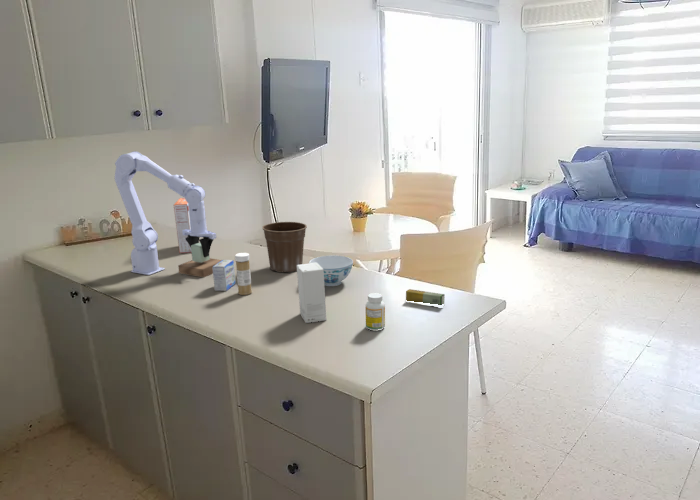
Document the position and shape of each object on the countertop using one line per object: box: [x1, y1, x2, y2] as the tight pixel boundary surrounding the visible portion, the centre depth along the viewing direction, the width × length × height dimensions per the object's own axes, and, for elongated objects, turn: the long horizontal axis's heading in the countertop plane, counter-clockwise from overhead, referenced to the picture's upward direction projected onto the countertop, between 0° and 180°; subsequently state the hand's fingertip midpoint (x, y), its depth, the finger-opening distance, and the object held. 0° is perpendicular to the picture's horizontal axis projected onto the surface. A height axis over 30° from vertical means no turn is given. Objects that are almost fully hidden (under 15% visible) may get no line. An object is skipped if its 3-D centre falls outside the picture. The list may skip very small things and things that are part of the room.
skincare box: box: [296, 262, 327, 324], centre depth 164 cm, size 8×7×16 cm
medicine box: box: [212, 259, 236, 292], centre depth 192 cm, size 8×4×9 cm, turn 168°
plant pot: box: [262, 221, 307, 273], centre depth 211 cm, size 16×16×16 cm
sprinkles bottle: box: [234, 252, 253, 296], centre depth 185 cm, size 5×5×14 cm
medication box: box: [405, 288, 445, 305], centre depth 174 cm, size 12×3×4 cm, turn 61°
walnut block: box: [177, 257, 223, 278], centre depth 211 cm, size 12×12×3 cm
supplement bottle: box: [365, 292, 386, 330], centre depth 157 cm, size 5×5×10 cm
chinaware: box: [308, 254, 354, 287], centre depth 194 cm, size 15×15×8 cm
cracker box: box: [173, 197, 192, 254], centre depth 239 cm, size 14×6×21 cm, turn 6°
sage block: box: [191, 242, 211, 263], centre depth 210 cm, size 4×4×6 cm
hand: (201, 255), depth 210 cm, fingers closed on sage block, 4 cm apart
